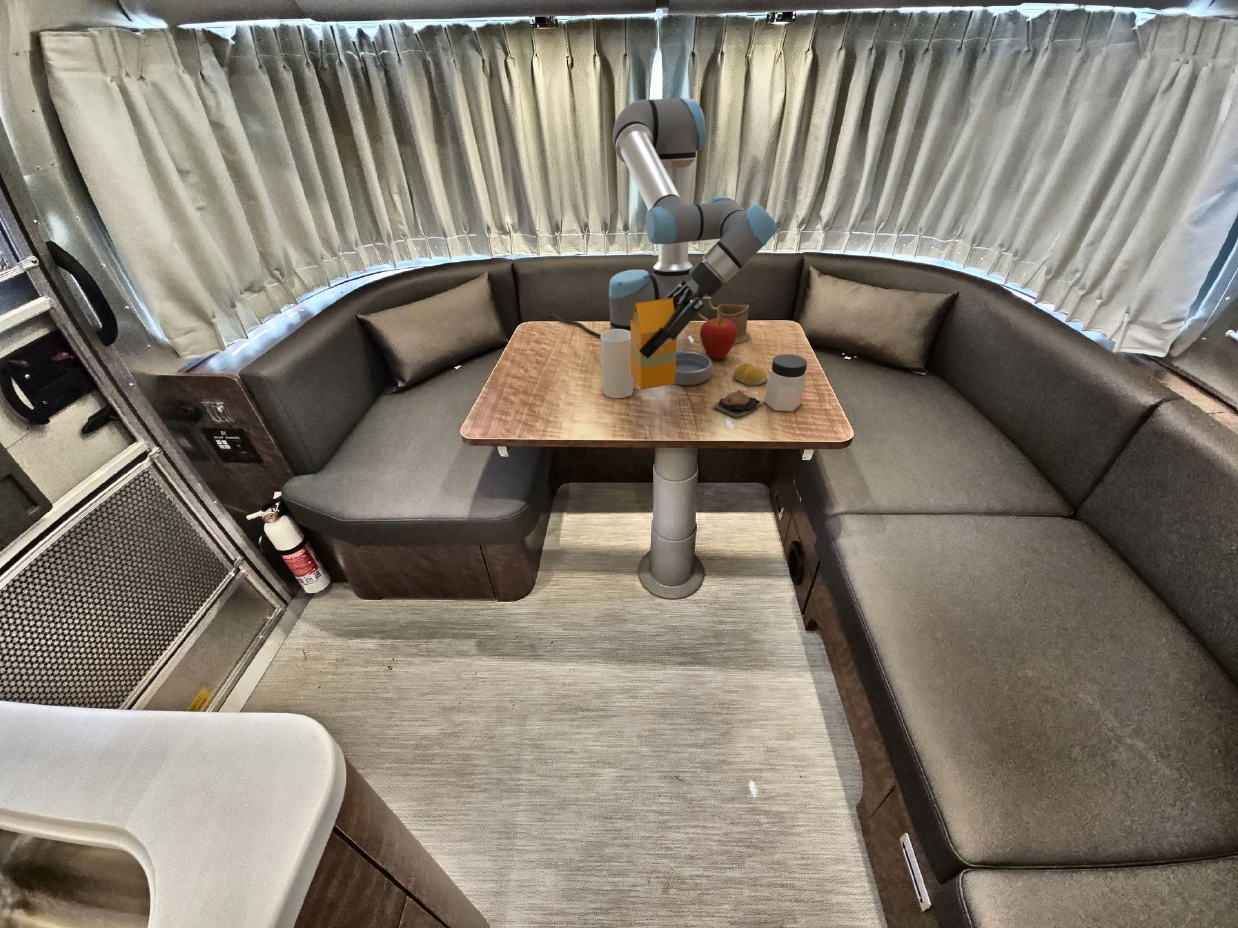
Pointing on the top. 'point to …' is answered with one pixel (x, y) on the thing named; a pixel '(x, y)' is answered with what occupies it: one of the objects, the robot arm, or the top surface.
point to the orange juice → (643, 328)
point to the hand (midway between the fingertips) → (640, 346)
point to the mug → (733, 317)
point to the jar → (786, 382)
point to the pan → (692, 368)
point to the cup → (616, 363)
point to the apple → (718, 337)
